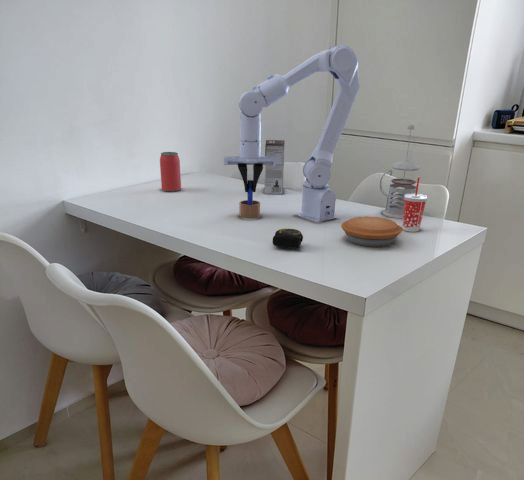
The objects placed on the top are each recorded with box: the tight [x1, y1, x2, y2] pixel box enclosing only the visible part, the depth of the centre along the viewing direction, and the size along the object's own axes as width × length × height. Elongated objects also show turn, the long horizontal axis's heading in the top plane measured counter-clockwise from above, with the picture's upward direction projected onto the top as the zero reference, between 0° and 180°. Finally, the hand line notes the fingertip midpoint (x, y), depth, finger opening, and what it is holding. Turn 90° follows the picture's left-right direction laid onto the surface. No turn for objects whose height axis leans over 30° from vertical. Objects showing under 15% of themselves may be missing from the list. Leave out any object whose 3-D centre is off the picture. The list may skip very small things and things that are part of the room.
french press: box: [379, 124, 421, 219], centre depth 157 cm, size 10×12×25 cm
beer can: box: [159, 151, 182, 193], centre depth 182 cm, size 7×7×12 cm
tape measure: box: [272, 228, 304, 250], centre depth 133 cm, size 7×7×4 cm
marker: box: [246, 179, 254, 205], centre depth 154 cm, size 2×2×8 cm
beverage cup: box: [401, 176, 428, 233], centre depth 146 cm, size 6×6×14 cm
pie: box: [340, 215, 404, 248], centre depth 138 cm, size 16×16×5 cm
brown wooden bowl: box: [238, 199, 261, 219], centre depth 156 cm, size 6×6×4 cm
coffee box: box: [264, 139, 286, 195], centre depth 183 cm, size 9×6×16 cm
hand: (250, 191), depth 153 cm, fingers closed on marker, 1 cm apart
